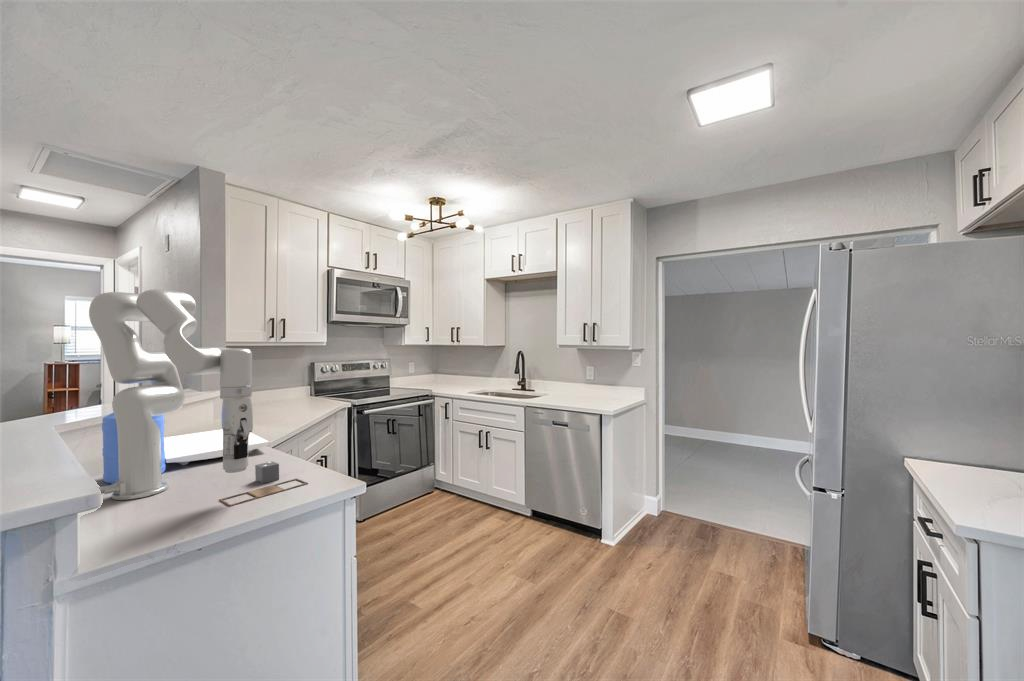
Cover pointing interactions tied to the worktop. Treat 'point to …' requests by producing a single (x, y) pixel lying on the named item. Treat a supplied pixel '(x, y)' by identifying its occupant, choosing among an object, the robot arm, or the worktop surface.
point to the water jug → (112, 446)
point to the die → (267, 472)
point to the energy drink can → (232, 452)
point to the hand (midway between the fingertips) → (235, 455)
